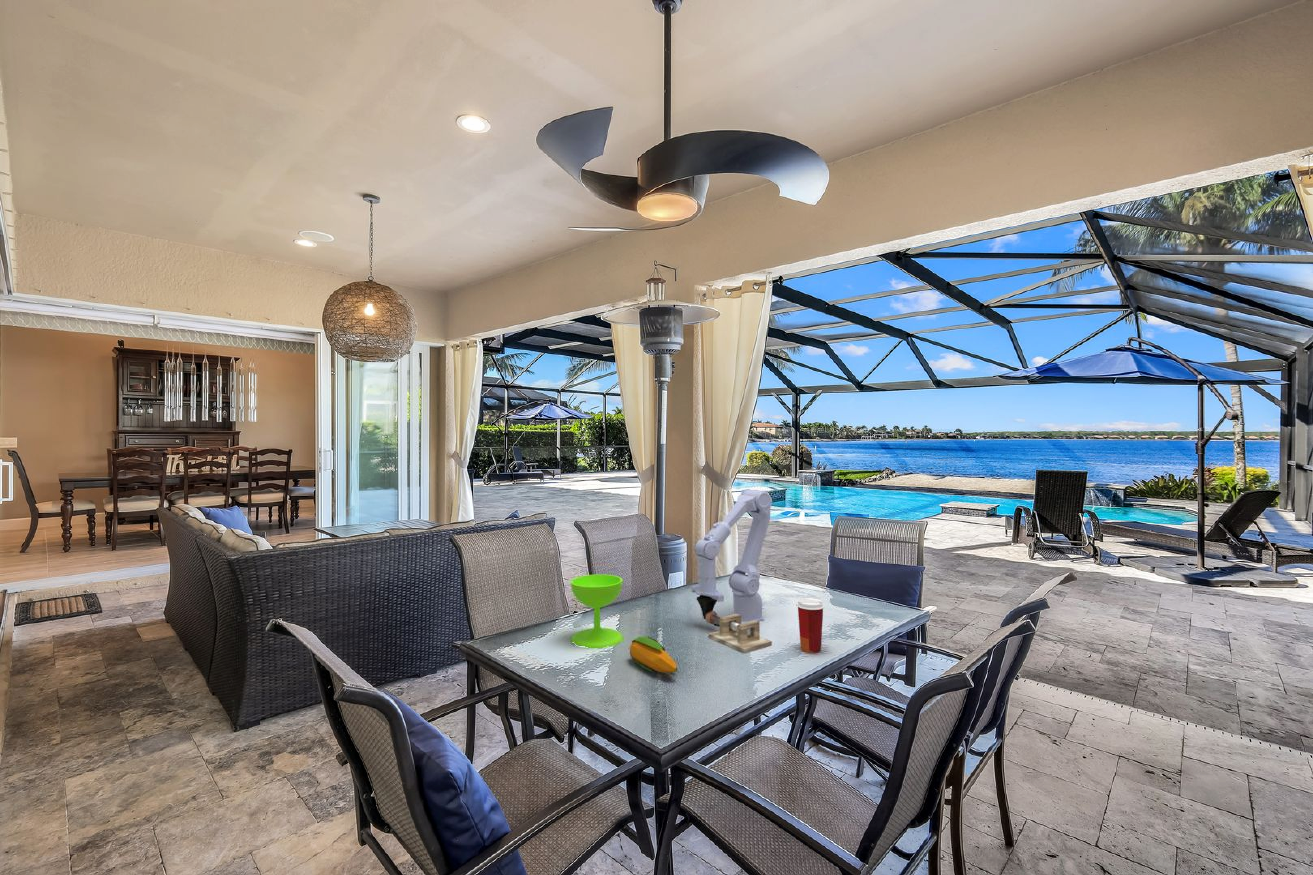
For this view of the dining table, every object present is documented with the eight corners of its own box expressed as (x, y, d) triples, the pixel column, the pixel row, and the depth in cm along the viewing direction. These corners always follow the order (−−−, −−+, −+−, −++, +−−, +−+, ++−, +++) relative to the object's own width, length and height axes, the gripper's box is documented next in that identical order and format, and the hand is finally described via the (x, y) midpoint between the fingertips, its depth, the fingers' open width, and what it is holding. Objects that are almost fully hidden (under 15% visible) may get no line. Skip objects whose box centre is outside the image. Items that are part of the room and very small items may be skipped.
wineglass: (567, 633, 179) (566, 576, 179) (616, 628, 184) (615, 572, 184) (575, 651, 164) (575, 589, 164) (629, 644, 169) (628, 584, 169)
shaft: (705, 624, 181) (705, 611, 181) (715, 621, 183) (714, 609, 183) (744, 640, 166) (744, 626, 166) (754, 637, 168) (754, 624, 168)
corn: (644, 627, 161) (687, 648, 145) (646, 654, 161) (689, 677, 145) (622, 634, 157) (663, 657, 140) (624, 661, 157) (666, 687, 141)
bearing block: (708, 637, 174) (708, 616, 175) (735, 630, 181) (734, 610, 181) (744, 653, 161) (744, 630, 161) (771, 645, 167) (771, 623, 167)
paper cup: (826, 647, 165) (825, 599, 166) (822, 656, 158) (821, 606, 159) (799, 643, 169) (798, 596, 169) (794, 652, 162) (793, 603, 162)
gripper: (683, 574, 187) (684, 615, 187) (711, 583, 175) (712, 627, 175) (700, 571, 191) (700, 611, 191) (728, 579, 179) (729, 622, 179)
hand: (707, 618), depth 184 cm, fingers closed
